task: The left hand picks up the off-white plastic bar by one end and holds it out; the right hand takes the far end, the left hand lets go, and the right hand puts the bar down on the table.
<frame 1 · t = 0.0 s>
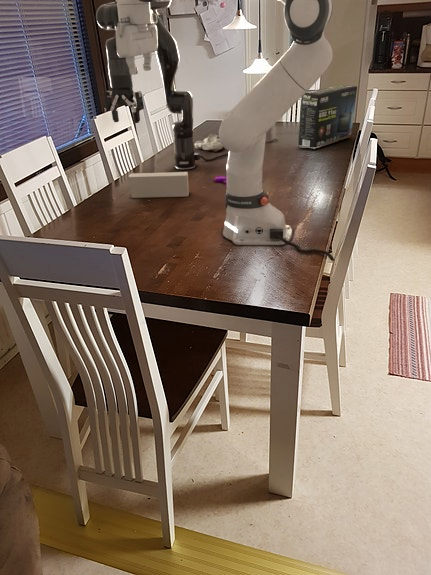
left hand: (126, 122, 165), 29 cm above the table, tool pointing down, fingers open, 8 cm apart
right hand: (140, 72, 133), 48 cm above the table, tool pointing down, fingers open, 8 cm apart
router box: (325, 143, 245), on the table
bar: (160, 195, 184), on the table
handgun: (228, 186, 190), on the table
fossil: (211, 148, 244), on the table
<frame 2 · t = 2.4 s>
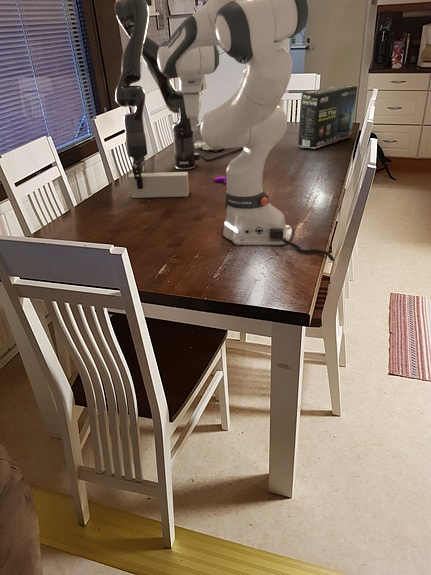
left hand: (141, 186, 182), 4 cm above the table, tool pointing down, fingers closed on bar, 4 cm apart
right hand: (195, 127, 156), 29 cm above the table, tool pointing down, fingers open, 8 cm apart
bar: (160, 195, 184), on the table, touching left hand
everything else where it was.
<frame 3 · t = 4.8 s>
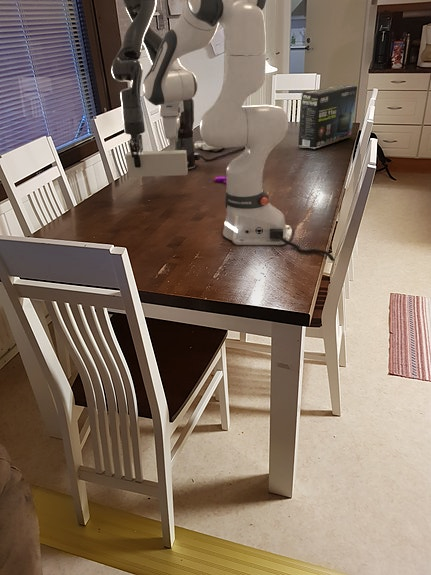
left hand: (139, 165, 178), 12 cm above the table, tool pointing down, fingers closed on bar, 4 cm apart
right hand: (174, 145, 174), 19 cm above the table, tool pointing down, fingers open, 8 cm apart
bar: (158, 174, 180), point 8 cm above the table, touching left hand
everything else where it was.
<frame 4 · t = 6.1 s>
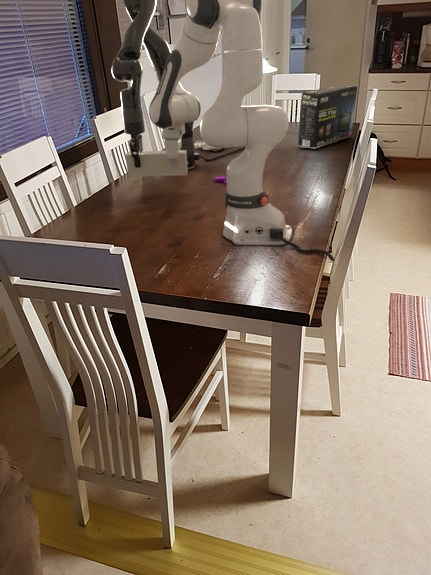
left hand: (138, 165, 178), 12 cm above the table, tool pointing down, fingers closed on bar, 4 cm apart
right hand: (176, 165, 178), 12 cm above the table, tool pointing down, fingers closed on bar, 4 cm apart
bar: (158, 174, 180), point 8 cm above the table, touching right hand, left hand
everything else where it was.
when the left hand's fingers open (12 cm above the table, at t = 7.2 s): bar stays where it is, held by the right hand.
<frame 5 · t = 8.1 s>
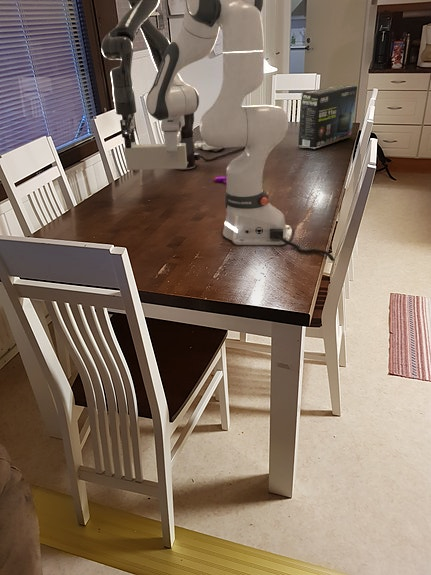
left hand: (130, 145, 174), 20 cm above the table, tool pointing down, fingers open, 8 cm apart
right hand: (175, 158, 176), 14 cm above the table, tool pointing down, fingers closed on bar, 4 cm apart
bar: (157, 167, 178), point 11 cm above the table, touching right hand
everything else where it was.
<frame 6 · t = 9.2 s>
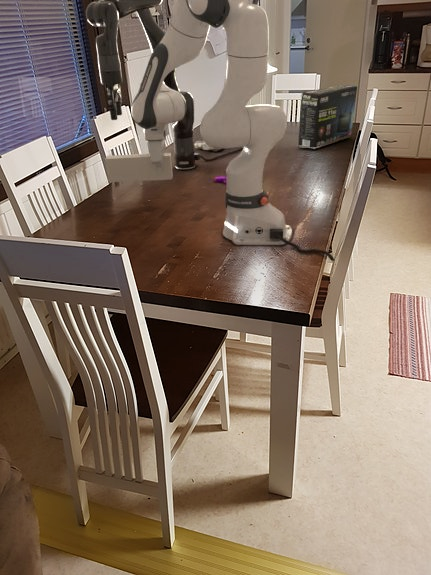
left hand: (116, 117, 169), 30 cm above the table, tool pointing down, fingers open, 8 cm apart
right hand: (160, 169, 165), 14 cm above the table, tool pointing down, fingers closed on bar, 4 cm apart
bar: (141, 179, 167), point 11 cm above the table, touching right hand
everything else where it was.
when the right hand's fingers open (5 cm above the table, at t = 12.4 s): bar drops 2 cm, on the table.
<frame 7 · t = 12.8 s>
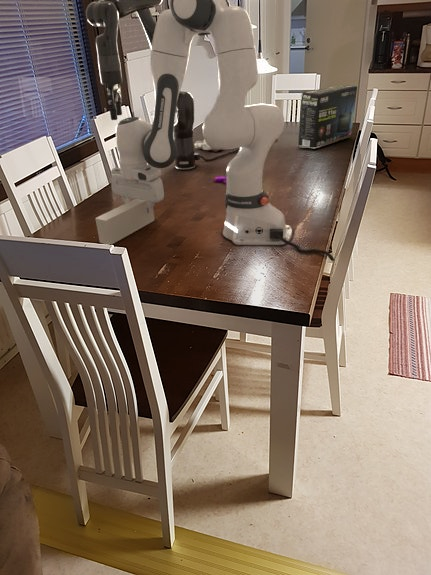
left hand: (116, 117, 169), 30 cm above the table, tool pointing down, fingers open, 8 cm apart
right hand: (139, 210, 157), 5 cm above the table, tool pointing down, fingers open, 8 cm apart
bar: (128, 231, 154), on the table
everything else where it was.
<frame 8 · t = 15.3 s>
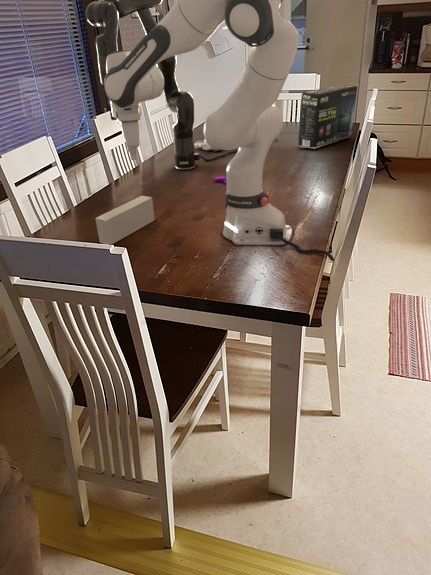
left hand: (116, 117, 169), 30 cm above the table, tool pointing down, fingers open, 8 cm apart
right hand: (132, 155, 147), 24 cm above the table, tool pointing down, fingers open, 8 cm apart
nothing on the table moved.
at the end: bar inside the target area (6.7 cm from its centre), on the table; the left hand is holding nothing; the right hand is holding nothing; bar at rest at the end (0.0 cm/s) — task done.
